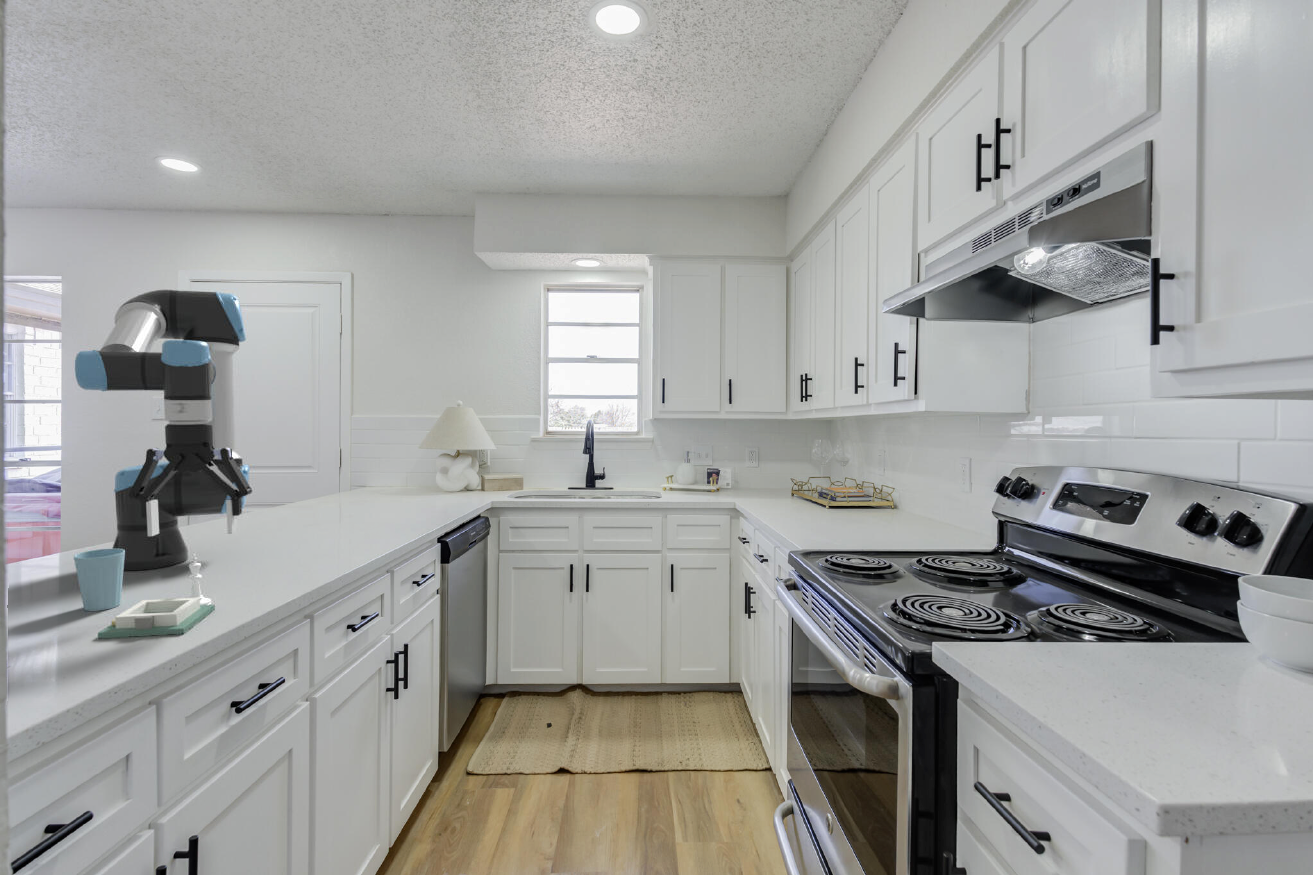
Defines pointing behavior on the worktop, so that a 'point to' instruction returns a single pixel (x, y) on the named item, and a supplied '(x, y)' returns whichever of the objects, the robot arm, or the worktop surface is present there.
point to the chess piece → (197, 582)
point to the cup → (100, 578)
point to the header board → (157, 618)
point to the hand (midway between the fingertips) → (193, 533)
